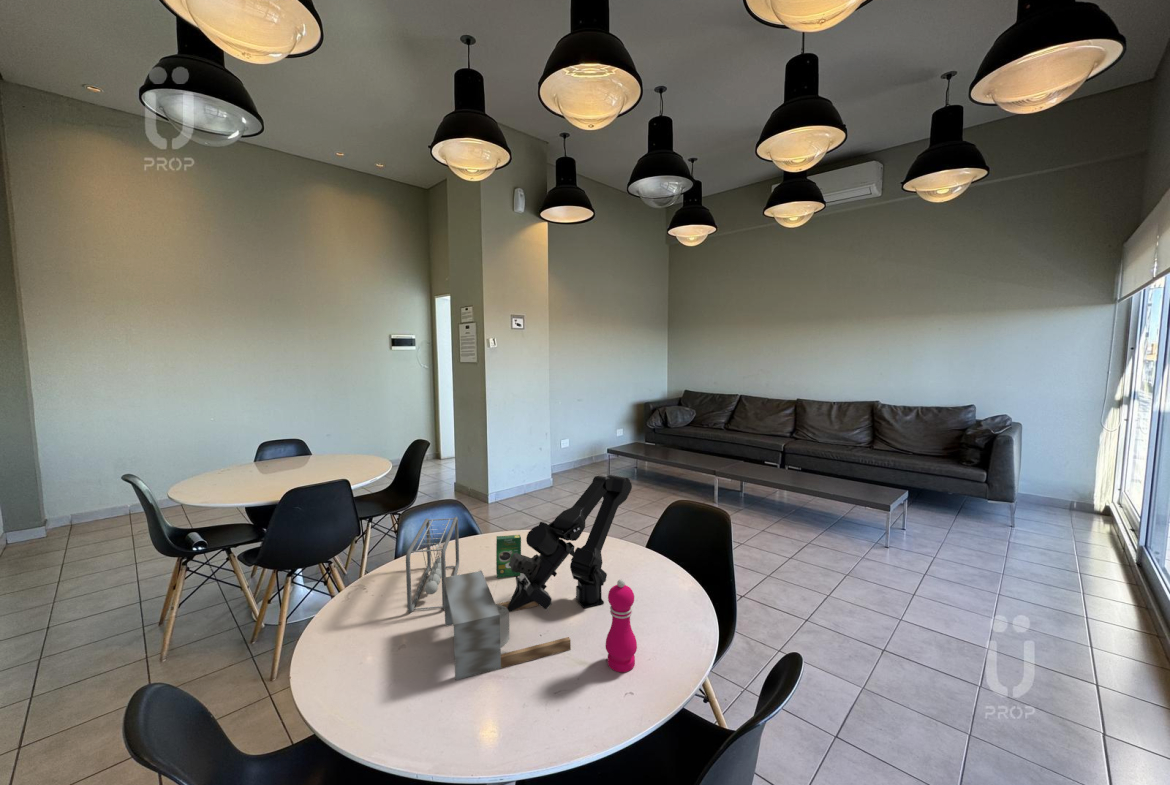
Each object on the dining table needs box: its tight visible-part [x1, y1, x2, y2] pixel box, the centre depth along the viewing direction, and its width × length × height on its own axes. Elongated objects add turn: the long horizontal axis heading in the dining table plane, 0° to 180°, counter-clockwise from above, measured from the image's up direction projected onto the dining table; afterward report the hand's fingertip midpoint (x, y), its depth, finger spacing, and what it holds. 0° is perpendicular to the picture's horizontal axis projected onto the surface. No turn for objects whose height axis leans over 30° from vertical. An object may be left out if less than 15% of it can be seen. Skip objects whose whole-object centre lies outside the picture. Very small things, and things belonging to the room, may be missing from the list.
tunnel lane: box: [444, 570, 572, 681], centre depth 116 cm, size 27×23×13 cm
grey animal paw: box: [495, 603, 510, 649], centre depth 114 cm, size 10×13×9 cm
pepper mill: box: [605, 578, 638, 673], centre depth 105 cm, size 7×7×20 cm
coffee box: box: [495, 534, 522, 579], centre depth 148 cm, size 8×3×13 cm, turn 103°
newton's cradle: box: [405, 516, 460, 614], centre depth 141 cm, size 30×10×18 cm, turn 9°
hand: (508, 610), depth 116 cm, fingers closed
